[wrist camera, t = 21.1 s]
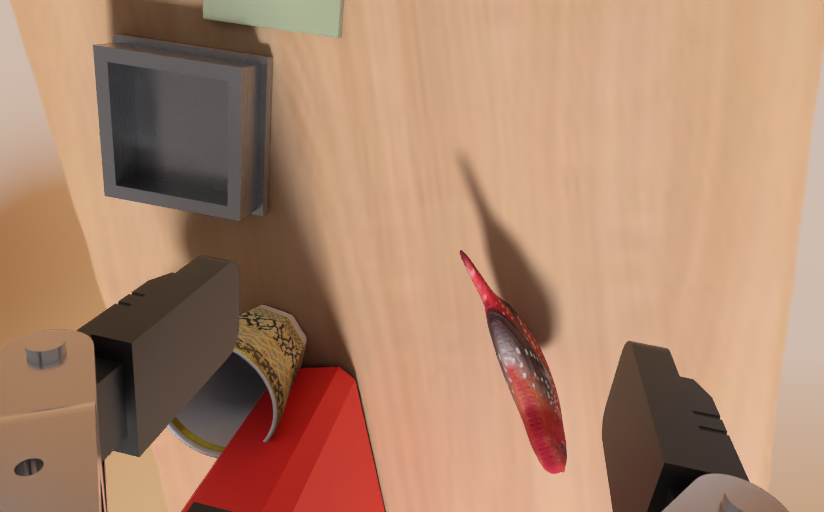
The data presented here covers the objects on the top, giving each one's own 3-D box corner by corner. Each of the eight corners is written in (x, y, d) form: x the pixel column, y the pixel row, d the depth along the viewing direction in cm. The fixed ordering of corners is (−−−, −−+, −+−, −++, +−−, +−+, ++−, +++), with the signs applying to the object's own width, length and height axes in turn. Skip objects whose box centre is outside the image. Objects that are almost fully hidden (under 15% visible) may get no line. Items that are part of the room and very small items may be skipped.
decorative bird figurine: (544, 412, 51) (545, 499, 42) (452, 228, 47) (431, 280, 38) (577, 402, 50) (585, 489, 41) (487, 213, 46) (474, 264, 37)
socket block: (121, 34, 46) (85, 36, 42) (272, 57, 45) (249, 61, 41) (131, 187, 51) (99, 200, 47) (268, 212, 49) (246, 228, 46)
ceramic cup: (286, 268, 51) (227, 318, 42) (346, 367, 53) (302, 436, 44) (173, 324, 55) (97, 381, 46) (232, 414, 57) (170, 486, 48)
